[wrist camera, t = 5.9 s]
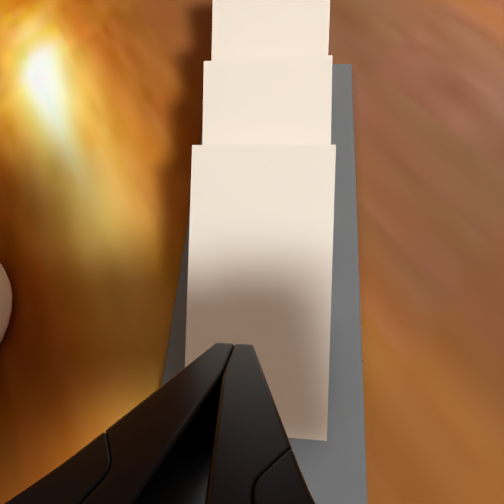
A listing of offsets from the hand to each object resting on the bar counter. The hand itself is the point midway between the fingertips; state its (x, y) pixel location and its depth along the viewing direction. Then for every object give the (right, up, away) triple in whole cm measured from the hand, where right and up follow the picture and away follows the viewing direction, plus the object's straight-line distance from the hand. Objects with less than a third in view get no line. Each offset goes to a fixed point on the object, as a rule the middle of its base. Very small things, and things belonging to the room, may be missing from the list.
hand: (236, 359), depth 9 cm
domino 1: (0, -4, +5) cm, 7 cm away
